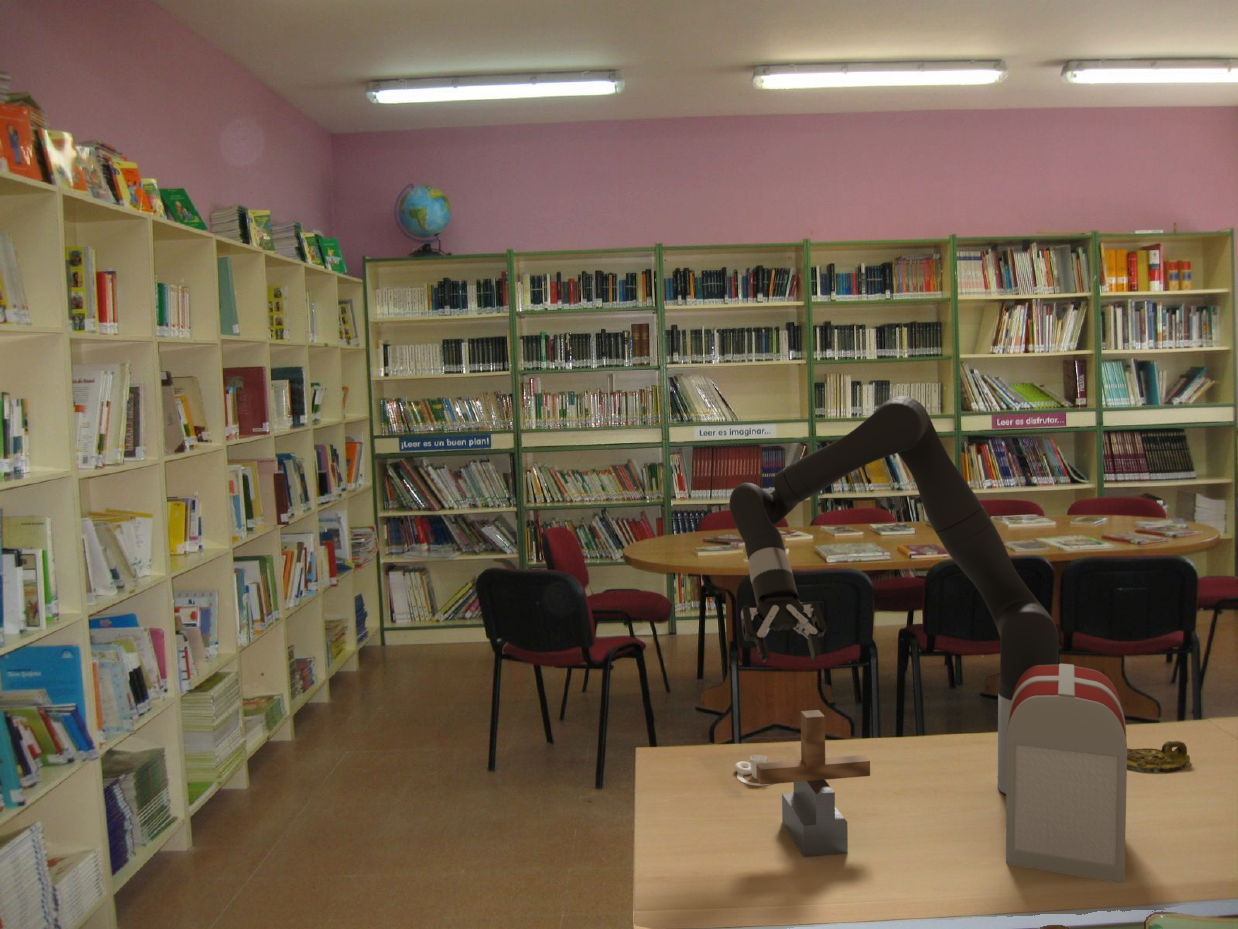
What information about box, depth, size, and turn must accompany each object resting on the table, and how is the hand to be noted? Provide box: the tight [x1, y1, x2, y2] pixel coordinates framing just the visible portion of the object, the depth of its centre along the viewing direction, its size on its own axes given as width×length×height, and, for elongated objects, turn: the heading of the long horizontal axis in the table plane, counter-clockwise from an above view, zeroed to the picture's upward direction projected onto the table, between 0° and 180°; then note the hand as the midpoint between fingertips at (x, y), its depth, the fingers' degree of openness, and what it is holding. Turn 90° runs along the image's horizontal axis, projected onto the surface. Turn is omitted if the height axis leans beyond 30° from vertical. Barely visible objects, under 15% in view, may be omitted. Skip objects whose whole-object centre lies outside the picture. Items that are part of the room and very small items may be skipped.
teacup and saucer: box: [734, 754, 772, 787], centre depth 186 cm, size 9×8×4 cm
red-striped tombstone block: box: [1005, 663, 1128, 884], centre depth 155 cm, size 17×18×27 cm
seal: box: [1127, 740, 1191, 774], centre depth 187 cm, size 9×5×15 cm
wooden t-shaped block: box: [756, 709, 871, 786], centre depth 160 cm, size 18×3×10 cm, turn 97°
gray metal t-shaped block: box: [781, 780, 849, 858], centre depth 161 cm, size 12×7×10 cm, turn 7°
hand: (791, 659), depth 170 cm, fingers open, 8 cm apart
